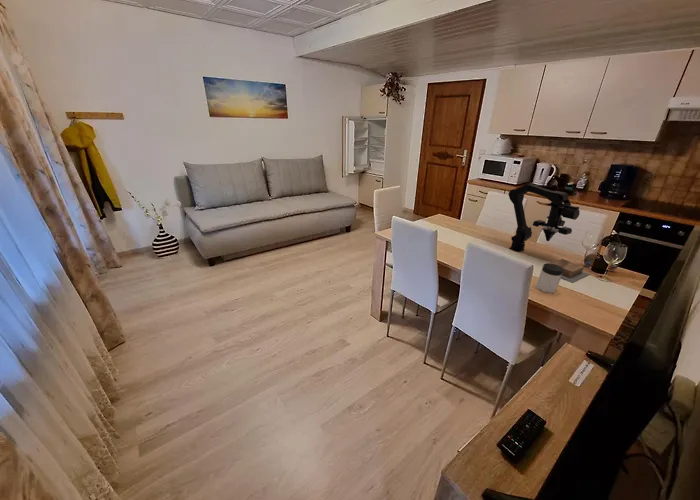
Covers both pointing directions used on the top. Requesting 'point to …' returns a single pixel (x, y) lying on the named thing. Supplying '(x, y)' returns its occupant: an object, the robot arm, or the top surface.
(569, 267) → the block
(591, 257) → the tin
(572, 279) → the mat
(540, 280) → the jar
